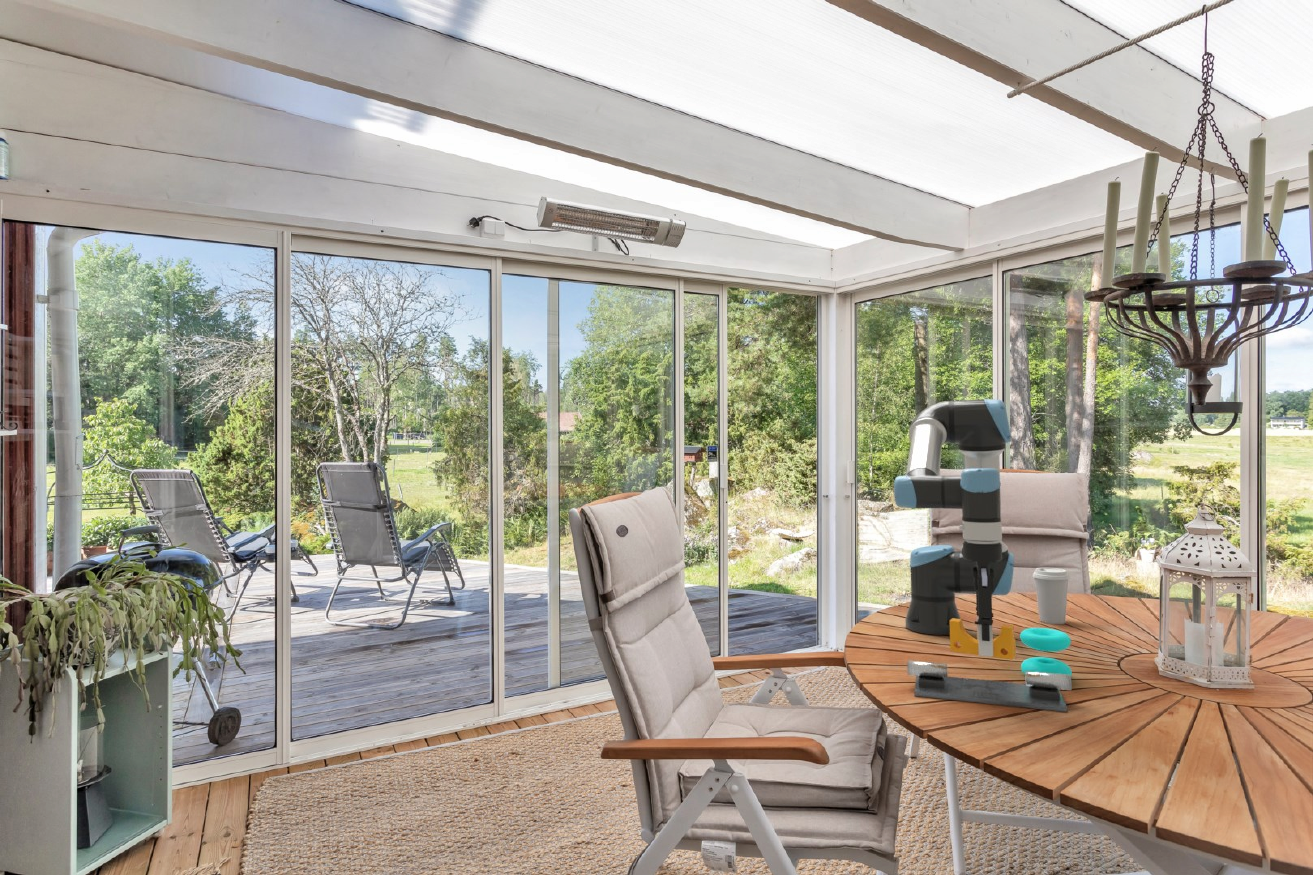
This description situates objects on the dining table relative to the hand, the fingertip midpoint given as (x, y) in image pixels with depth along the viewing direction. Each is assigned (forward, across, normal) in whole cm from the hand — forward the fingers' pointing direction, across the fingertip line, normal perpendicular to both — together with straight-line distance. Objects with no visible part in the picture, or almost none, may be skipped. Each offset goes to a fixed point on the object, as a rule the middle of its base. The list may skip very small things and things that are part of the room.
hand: (985, 651), depth 148 cm
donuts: (+9, -16, +13) cm, 23 cm away
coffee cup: (+9, -70, +21) cm, 74 cm away
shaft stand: (+9, 0, 0) cm, 9 cm away
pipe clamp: (+1, 0, 0) cm, 1 cm away
